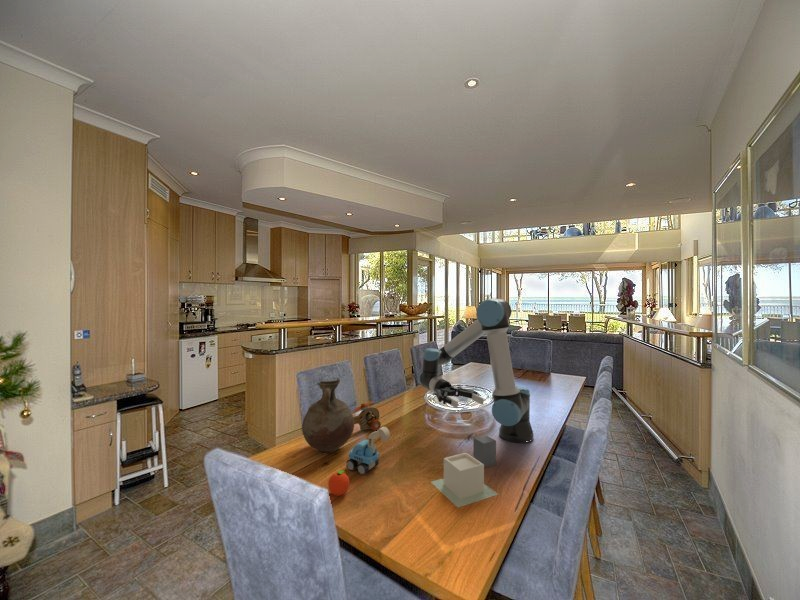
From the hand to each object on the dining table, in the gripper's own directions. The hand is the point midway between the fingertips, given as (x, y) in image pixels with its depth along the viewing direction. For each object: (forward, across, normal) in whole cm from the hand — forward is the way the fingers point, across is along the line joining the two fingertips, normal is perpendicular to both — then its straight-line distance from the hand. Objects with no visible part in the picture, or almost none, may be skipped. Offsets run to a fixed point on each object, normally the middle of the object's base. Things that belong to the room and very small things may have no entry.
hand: (470, 403), depth 142 cm
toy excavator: (-6, +41, -24) cm, 48 cm away
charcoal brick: (+11, 0, -20) cm, 23 cm away
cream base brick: (+21, +18, -19) cm, 34 cm away
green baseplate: (+21, +18, -20) cm, 35 cm away
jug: (-30, +49, -26) cm, 63 cm away
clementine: (+3, +55, -24) cm, 60 cm away
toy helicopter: (-42, +29, -26) cm, 58 cm away
